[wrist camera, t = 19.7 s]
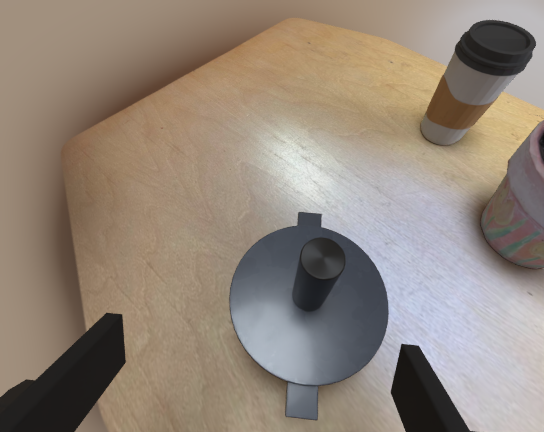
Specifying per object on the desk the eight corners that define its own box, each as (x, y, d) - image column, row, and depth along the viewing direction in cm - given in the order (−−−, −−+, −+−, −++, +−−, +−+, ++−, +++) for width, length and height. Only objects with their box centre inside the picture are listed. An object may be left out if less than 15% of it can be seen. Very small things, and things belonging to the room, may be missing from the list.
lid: (217, 375, 23) (186, 370, 15) (243, 225, 30) (231, 163, 22) (391, 395, 23) (462, 401, 14) (377, 237, 29) (420, 177, 21)
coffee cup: (473, 151, 45) (554, 58, 32) (419, 150, 46) (477, 57, 33) (458, 114, 50) (524, 18, 37) (408, 113, 50) (456, 17, 37)
